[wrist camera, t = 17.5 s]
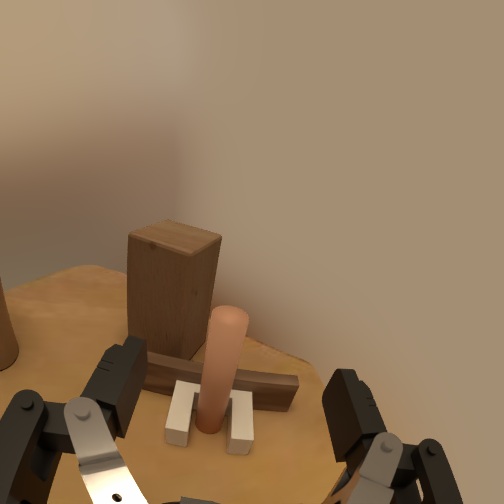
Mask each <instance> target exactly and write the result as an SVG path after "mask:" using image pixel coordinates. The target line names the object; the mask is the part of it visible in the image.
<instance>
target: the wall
mask: <svg viewBox="0 0 504 504" xmlns="http://www.w3.org/2000/svg"><path fill="white" fill-rule="evenodd" d="M147 358H148V369H147V375H146V378H145V381H144V384H143V387H142V389H144V390H148V391H152V392H156V393H160V394H165V395H169V396H173V393H174V389H175V385H176V381H177V380H179V381H184V382H189V383H194V384H200V385H201V379H202V372H203V365H204V363H199V362H194V361H189V360H184V359H179V358H174V357H170V356H165V355H161V354H156V353H152V352H148V351H147ZM298 387H299V382H298V377H297V376H295V375H284V374H274V373H265V372H257V371H249V370H241V369H237V370H236V374H235V378H234V382H233V385H232V390H240V391H249V392H252V407H253V409H256V410H267V411H281V412H287V410H288V408H289V406H290V404H291V402H292V400H293V398H294V396H295V394H296V392H297V390H298Z"/></svg>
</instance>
